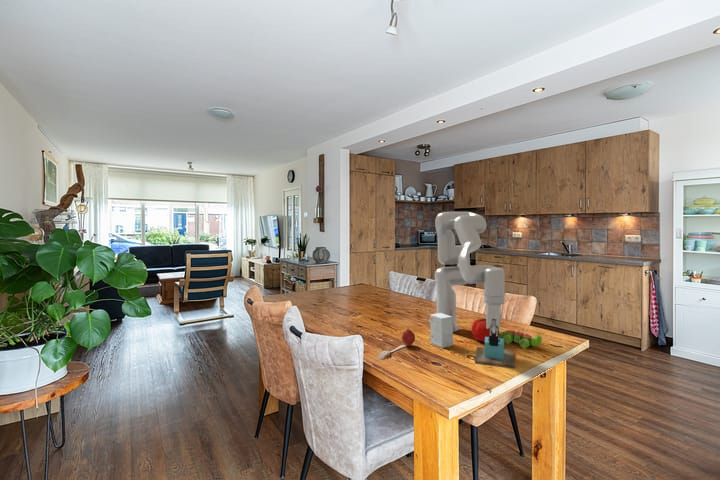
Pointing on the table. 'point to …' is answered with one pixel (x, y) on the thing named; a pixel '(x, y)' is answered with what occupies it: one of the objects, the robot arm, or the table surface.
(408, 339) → the onion
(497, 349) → the bead
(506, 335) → the toy crocodile
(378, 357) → the fork
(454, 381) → the table surface
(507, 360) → the post board
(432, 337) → the small box
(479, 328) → the tomato
